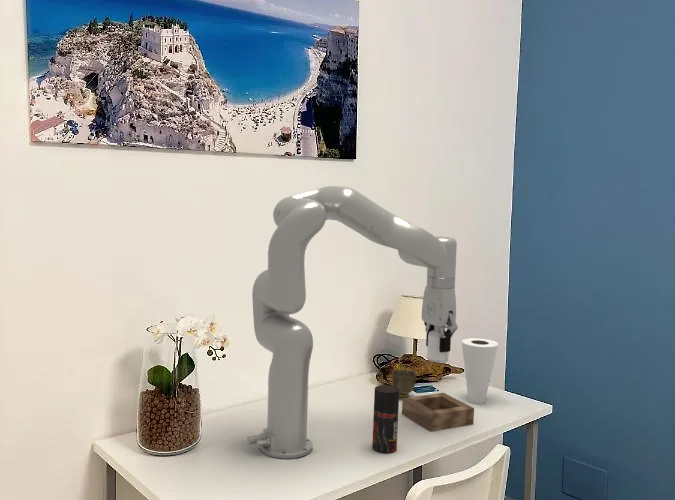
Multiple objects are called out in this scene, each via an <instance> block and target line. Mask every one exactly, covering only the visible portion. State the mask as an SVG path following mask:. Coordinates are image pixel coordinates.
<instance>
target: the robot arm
mask: <svg viewBox="0 0 675 500" xmlns="http://www.w3.org/2000/svg"><path fill="white" fill-rule="evenodd" d="M272 216H273V221H274V224H275V226H277V227H276V229H275V230H274V232H273V233H272V236H271V237H270V240H269V243H268V244H269V245H268V249H267V250H268V251H267V269H266V270H263V271H262V272H261V273H260V274H258V275H257V277H256V278H255V280H254V283H253V287H252V293H251V295H252V296H251V297H252V315H253V317H252V318H253V330H254V335H255V338H256V340H257V341H256V342H258V344H259V345H261V346H262V347H263V348H264V349H265V350H268V351H269V352H270V353H272V358H271V362H270V365H269V369H268V377H267V379H268V381H267V385H268V387H267V416H266V417H267V421H266V422H267V423H266V424H267V425H266V428H263V430H262V432H260V433H259V435H258V434H257V435H248V436H247V437H246V441H247V442H246V443H247V445H249V446H250V445H255V446H256V447H259V449H260V451H261V452H262V453H263V454H265V455H267V456H269V457H272V458H277V459H297V458H301V457H304V456H307V455H308V454H311V452H312V450H313V448H314V445H313V444H314V443H313V441H312V440H311V439H310V438H308V436H307V434H308V407H309V402H308V401H309V374H310V364H311V363H310V362H311V358H312V353H313V349H314V348H313V347H314V339H313V334H312V331H311V330H310V328H309V327H308V326H307V325H306V324H305V323H304V322H302V321H300V320H299V319H297V318H294V317H291V316H290V315H293V314H297V313H299V312H300V311H301V310H302V309H303V308H304V305H305V303H306V298H307V292H306V291H307V289H306V274H305V273H306V271H305V258H306V257H305V255H306V250H307V248H308V245H309V243H310V242H311V240H312V239H313V238H314V236H316V235H317V234H319V232H320V231H322V229H323V228H324V226H325V225H326V221H328V220H329V221H336V222H339V223H341V224H343V225H345V226H346V227H348V228H350V229H351V230H353V231H354V232H356V233H358V234H360V235H361V236H363V237H364V238H365V239H367V240H369V241H371V242H372V243H375V244H377V245H381V246H384V247H387V248H389V249H390V248H391V249H393V250H394V249H395V250H397V254H398V256H399V258H400V259H401V260H402V262H404V263H407V264H408V265H412V266H418V267H421V268H423V267H424V268H427V269H426V285H425V286H424V291H423V292H424V293H423V298H422V303H421V304H422V306H421V320H422V321H423V323H424V326H425V332H426V339H425V340H426V341H425V346H426V347H427V348H428V334H429V332H430V331H433V330H435V329H434V328H435V326H436V327H440V330H441V336H442V337H440V346H439V351H440V352H441V353H442V352H451V343H452V342H451V340H452V338H453V335H454V333H455V332H456V331H457V330H458V324H457V321H456V319H457V297H456V270H457V269H456V267H457V247H458V245H457V240H456V238H454V237H450V236H435V235H433V234H432V233H430V232H429V231H427V230H426V229H424V228H423V227H420V226H418V225H416V224H414V223H412V222H410V221H408V220H406V219H405V218H403V217H400V216H398V215H396V214H394V213H392V212H390V211H388V210H387V209H385V208H383V206H380V205H379V204H377V203H376V202H374V201H373V200H371V199H370V198H368V197H366V195H364V194H362V193H360V192H359V191H357V190H356V189H354V188H353V187H349V186H337V185H329V186H327V185H326V186H323V187H319V188H316V189H312V190H309V191H306V192H302V193H301V192H300V193H298V194H294V195H290V196H288V197H287V196H286V197H284V198H282V199H281V200H280V201H278V202H277V204H276V205H275V207H274V209H273V214H272Z"/></svg>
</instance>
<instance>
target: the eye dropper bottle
mask: <svg viewBox="0 0 675 500" xmlns="http://www.w3.org/2000/svg"><path fill="white" fill-rule="evenodd" d="M434 329H435V330H433V331H430V332H429V334H428V347H427V350H426V351H427V352H426V353H427V354H426V359H427V361H428V362H434V363H440V364H442V363H443V364H445V363H447V362H448V361H449V352H450V351H449V352H442V353H441V352H440V351H439V346H440V337H442V336H441V330H440V327H436V326H435V328H434Z"/></svg>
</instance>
